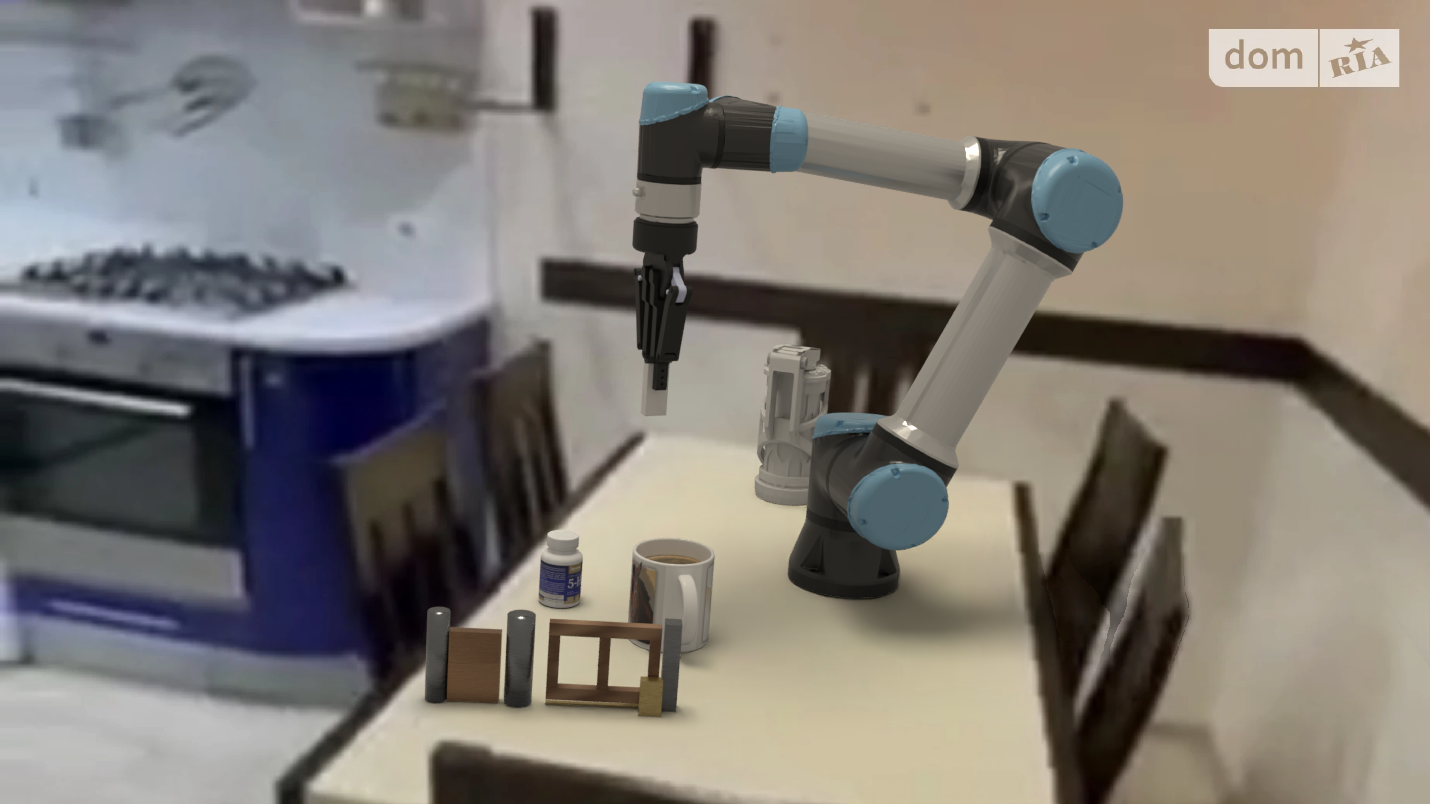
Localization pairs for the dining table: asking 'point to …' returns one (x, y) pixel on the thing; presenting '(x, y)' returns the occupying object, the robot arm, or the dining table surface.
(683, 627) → the mug
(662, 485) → the dining table surface
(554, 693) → the gate
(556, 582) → the pill bottle
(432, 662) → the fence
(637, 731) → the dining table surface
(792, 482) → the lantern
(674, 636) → the block
